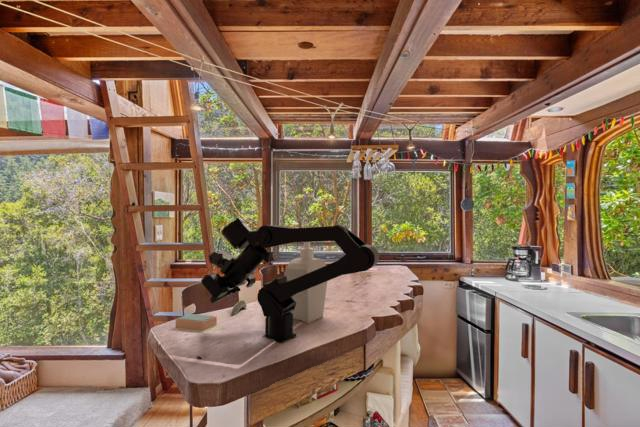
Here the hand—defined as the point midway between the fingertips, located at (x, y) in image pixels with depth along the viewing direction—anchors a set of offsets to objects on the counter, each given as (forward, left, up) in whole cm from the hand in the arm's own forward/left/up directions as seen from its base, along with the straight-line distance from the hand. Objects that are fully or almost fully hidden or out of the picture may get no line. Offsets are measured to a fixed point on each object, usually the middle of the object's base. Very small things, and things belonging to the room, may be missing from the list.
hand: (211, 301), depth 101 cm
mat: (+3, +1, -8) cm, 8 cm away
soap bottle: (-14, -24, -8) cm, 29 cm away
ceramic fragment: (+8, -17, -8) cm, 21 cm away
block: (0, 0, -6) cm, 6 cm away
